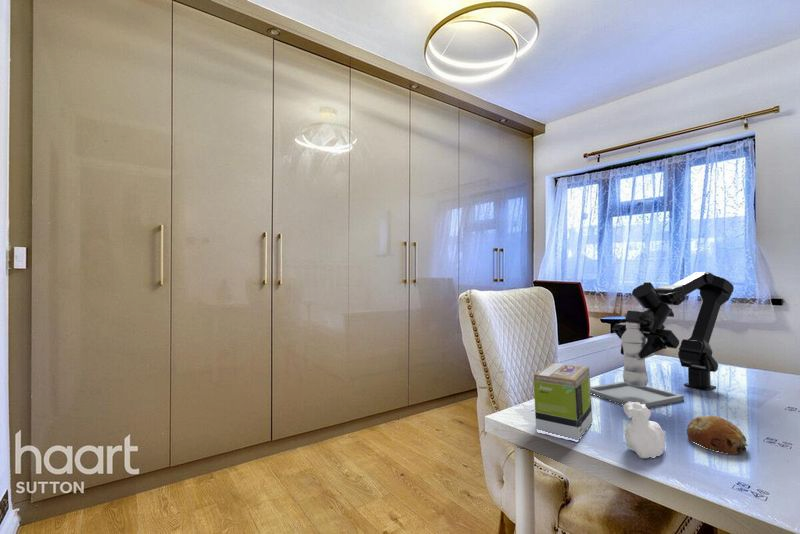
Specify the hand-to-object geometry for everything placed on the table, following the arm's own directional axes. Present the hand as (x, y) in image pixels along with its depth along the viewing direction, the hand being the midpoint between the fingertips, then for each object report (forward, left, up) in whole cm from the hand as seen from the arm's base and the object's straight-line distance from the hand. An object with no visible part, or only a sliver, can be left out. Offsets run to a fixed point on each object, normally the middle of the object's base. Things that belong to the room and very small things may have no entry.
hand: (630, 355), depth 114 cm
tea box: (+37, +9, -13) cm, 40 cm away
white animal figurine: (+31, +25, -13) cm, 42 cm away
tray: (-1, -1, -13) cm, 13 cm away
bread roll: (+13, +29, -14) cm, 35 cm away
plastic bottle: (-1, 0, -10) cm, 10 cm away
